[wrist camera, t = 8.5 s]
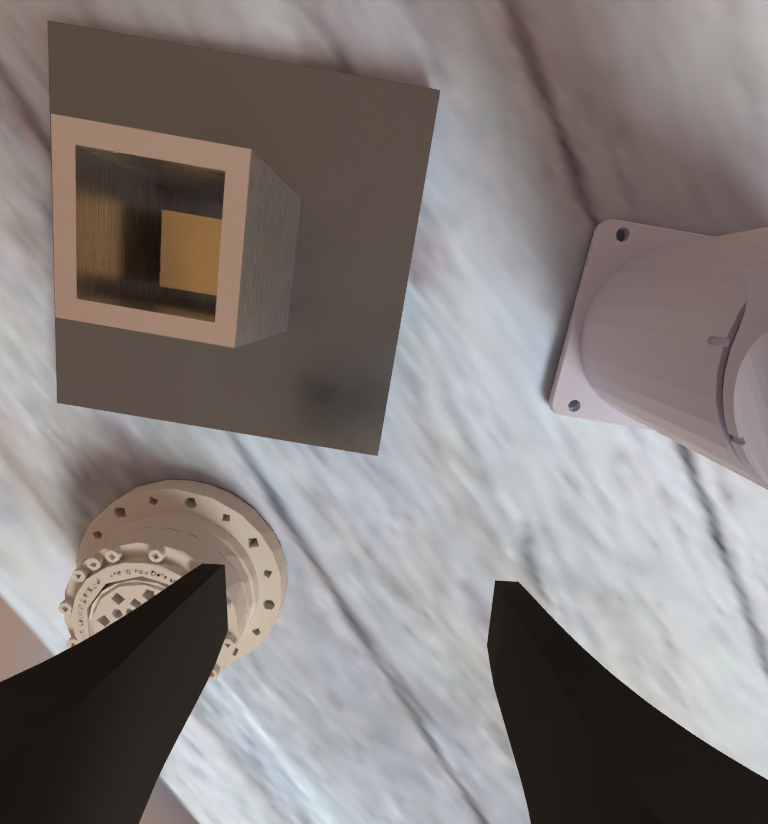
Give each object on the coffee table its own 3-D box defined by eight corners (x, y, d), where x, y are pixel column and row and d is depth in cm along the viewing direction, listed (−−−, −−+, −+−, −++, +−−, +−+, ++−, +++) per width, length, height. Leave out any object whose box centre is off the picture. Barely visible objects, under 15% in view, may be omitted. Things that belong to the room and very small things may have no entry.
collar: (301, 199, 17) (251, 148, 11) (286, 331, 18) (234, 347, 12) (170, 175, 17) (51, 113, 11) (165, 310, 18) (54, 316, 12)
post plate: (437, 104, 17) (449, 44, 13) (378, 446, 21) (374, 484, 17) (72, 39, 17) (-32, -42, 13) (76, 396, 20) (-4, 421, 16)
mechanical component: (210, 439, 21) (54, 536, 23) (162, 476, 17) (-26, 591, 18) (326, 597, 23) (175, 676, 25) (310, 666, 19) (128, 756, 20)
